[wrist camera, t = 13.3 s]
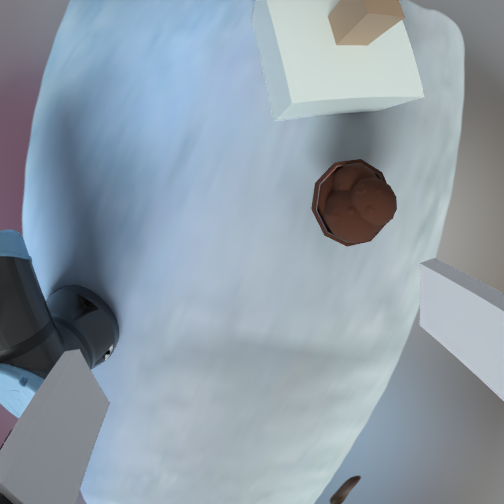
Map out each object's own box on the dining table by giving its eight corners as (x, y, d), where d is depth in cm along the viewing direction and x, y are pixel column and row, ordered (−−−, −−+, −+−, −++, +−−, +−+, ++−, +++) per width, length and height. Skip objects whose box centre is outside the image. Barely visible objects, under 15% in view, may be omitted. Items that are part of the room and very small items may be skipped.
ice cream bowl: (313, 148, 44) (352, 140, 29) (373, 182, 46) (427, 190, 31) (283, 211, 46) (308, 231, 32) (345, 241, 48) (389, 271, 33)
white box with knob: (273, 121, 42) (314, 81, 21) (251, 22, 38) (269, -67, 16) (377, 111, 43) (471, 85, 21) (352, 18, 38) (420, -47, 16)
